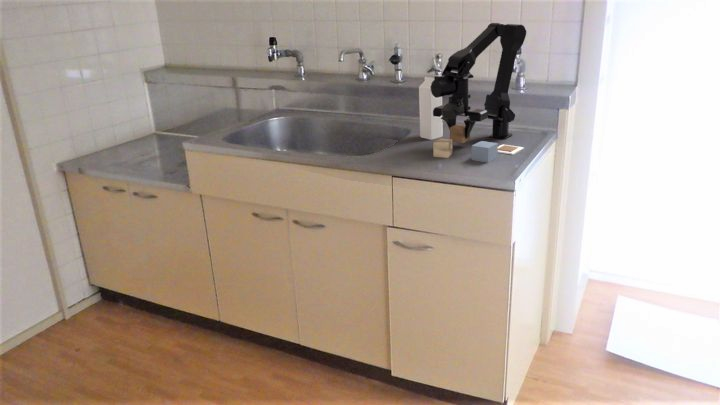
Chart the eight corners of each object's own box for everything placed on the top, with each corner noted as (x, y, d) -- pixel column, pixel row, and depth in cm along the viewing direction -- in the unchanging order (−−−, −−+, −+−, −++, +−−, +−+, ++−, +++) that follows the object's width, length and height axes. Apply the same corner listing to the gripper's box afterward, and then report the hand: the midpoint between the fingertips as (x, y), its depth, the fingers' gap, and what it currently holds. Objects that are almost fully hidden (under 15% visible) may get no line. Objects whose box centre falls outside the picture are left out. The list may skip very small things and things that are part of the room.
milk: (431, 140, 220) (429, 79, 211) (419, 137, 224) (418, 78, 216) (443, 136, 223) (442, 77, 215) (431, 133, 227) (430, 75, 219)
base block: (481, 155, 199) (481, 140, 197) (497, 158, 195) (497, 143, 194) (471, 160, 195) (471, 145, 193) (488, 163, 191) (488, 148, 189)
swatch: (502, 145, 208) (502, 143, 207) (523, 148, 203) (524, 146, 202) (491, 151, 202) (491, 149, 202) (512, 154, 197) (513, 152, 197)
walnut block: (457, 137, 212) (457, 124, 210) (469, 139, 209) (470, 125, 207) (449, 141, 208) (449, 127, 206) (462, 143, 205) (462, 128, 203)
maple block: (438, 152, 205) (438, 138, 203) (452, 153, 203) (452, 139, 201) (433, 157, 201) (433, 142, 199) (447, 158, 199) (447, 143, 197)
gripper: (423, 95, 202) (424, 139, 208) (471, 99, 191) (471, 147, 197) (441, 88, 210) (442, 132, 216) (489, 93, 199) (488, 138, 204)
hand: (459, 137), depth 208 cm, fingers closed on walnut block, 5 cm apart
